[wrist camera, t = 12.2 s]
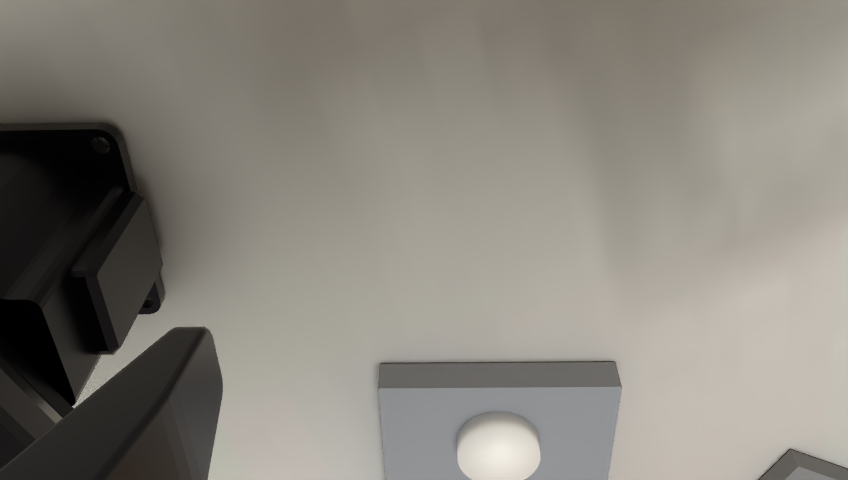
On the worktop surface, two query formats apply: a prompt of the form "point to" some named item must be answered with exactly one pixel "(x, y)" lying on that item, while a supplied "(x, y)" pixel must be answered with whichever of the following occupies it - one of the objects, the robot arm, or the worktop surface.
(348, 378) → the worktop surface
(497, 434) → the indicator board
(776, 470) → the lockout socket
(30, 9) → the worktop surface
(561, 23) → the worktop surface
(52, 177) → the robot arm
